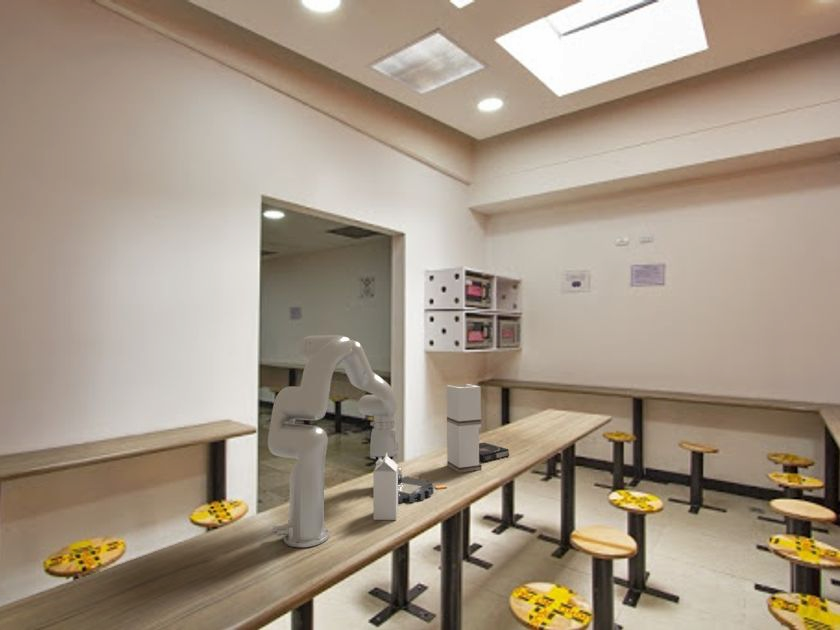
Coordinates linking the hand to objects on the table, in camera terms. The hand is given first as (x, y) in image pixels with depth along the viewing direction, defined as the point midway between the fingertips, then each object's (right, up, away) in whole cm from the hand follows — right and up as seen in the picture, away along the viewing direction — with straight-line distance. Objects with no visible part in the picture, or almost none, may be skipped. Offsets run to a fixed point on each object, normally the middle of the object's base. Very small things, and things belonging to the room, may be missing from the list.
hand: (384, 473), depth 173 cm
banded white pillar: (+33, -6, +22) cm, 40 cm away
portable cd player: (+44, -7, +40) cm, 60 cm away
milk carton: (+3, -4, -29) cm, 29 cm away
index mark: (+21, -4, -3) cm, 22 cm away
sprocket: (+7, -4, -8) cm, 12 cm away
